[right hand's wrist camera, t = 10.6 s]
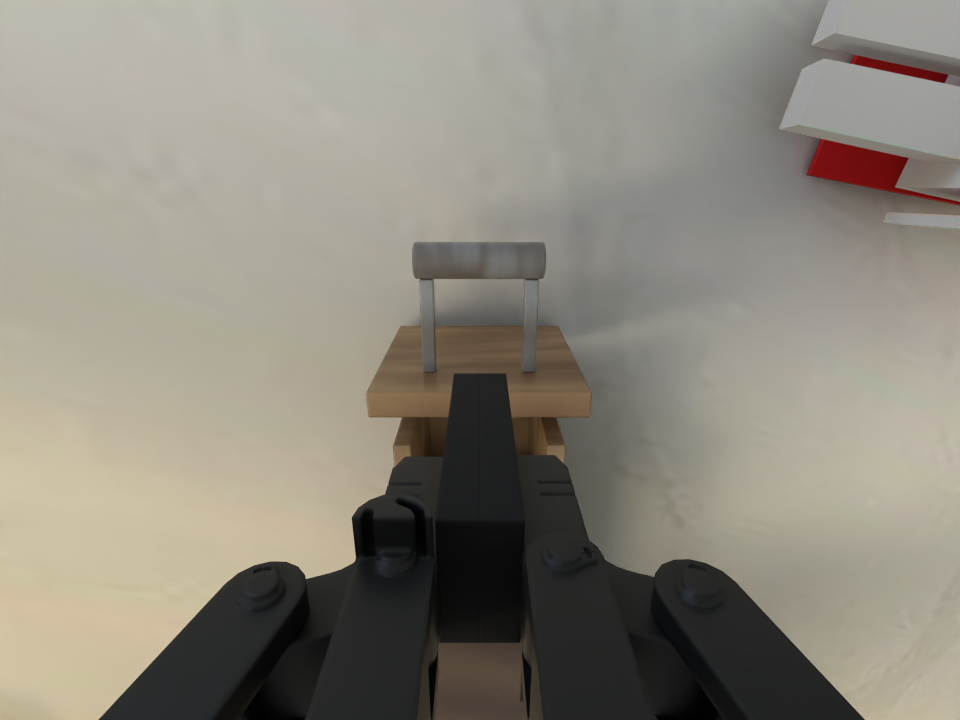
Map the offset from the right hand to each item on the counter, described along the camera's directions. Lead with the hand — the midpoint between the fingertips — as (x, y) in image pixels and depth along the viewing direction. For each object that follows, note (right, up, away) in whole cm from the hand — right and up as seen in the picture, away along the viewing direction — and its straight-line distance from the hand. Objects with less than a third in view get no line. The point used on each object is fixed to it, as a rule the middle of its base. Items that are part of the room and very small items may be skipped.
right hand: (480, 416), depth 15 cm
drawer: (0, -1, +17) cm, 17 cm away
